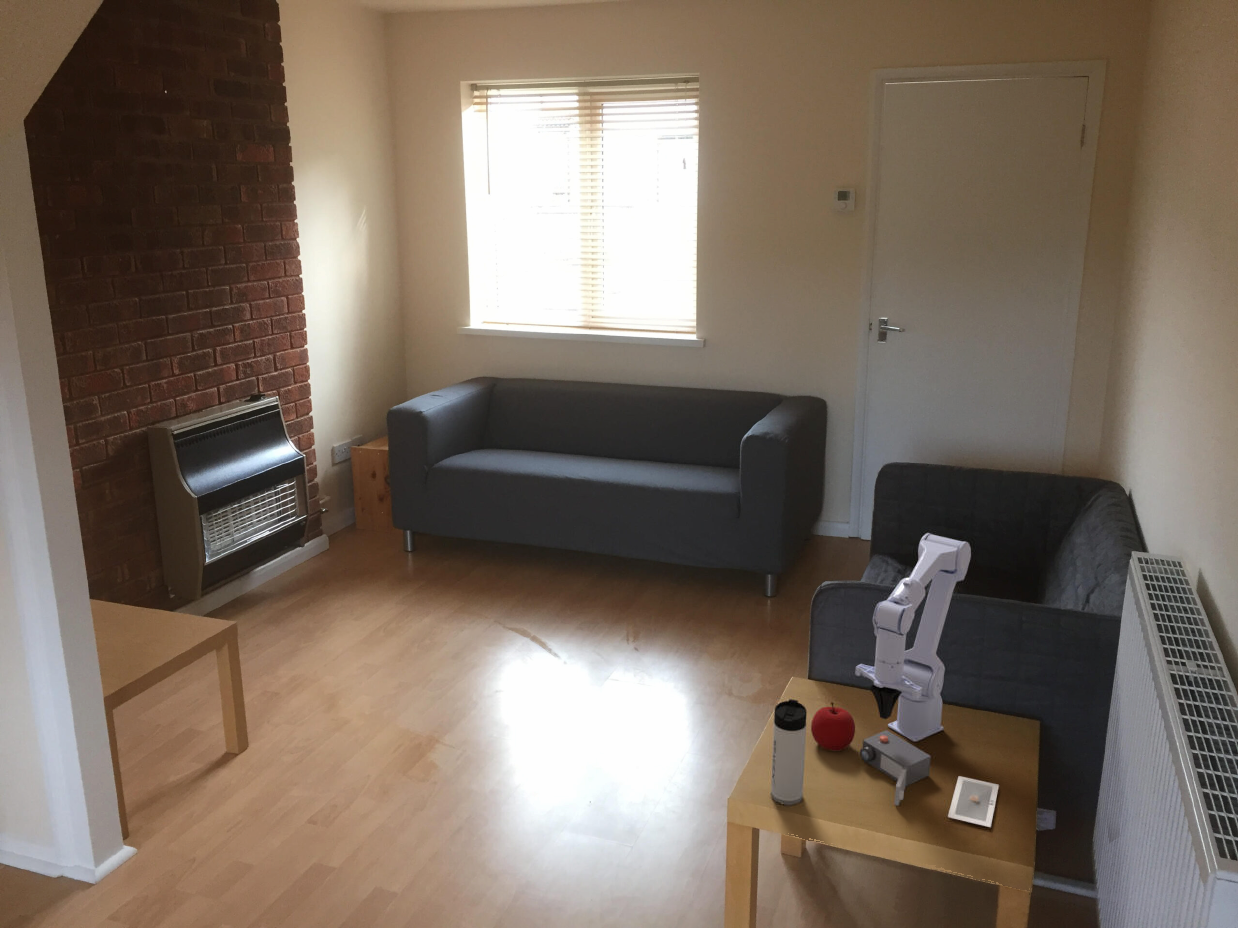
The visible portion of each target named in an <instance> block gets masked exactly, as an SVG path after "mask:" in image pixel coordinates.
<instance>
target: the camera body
mask: <svg viewBox="0 0 1238 928" xmlns="http://www.w3.org/2000/svg"><path fill="white" fill-rule="evenodd" d="M859 755H860V758H861V760H862V761H863V762H865V763H867V764H869V765H871V766H872V767H873V768H875V769H877V770H878V771H880V772H881V773H883V774H885V775H886V776H888V777H889V778H891V779H893V780H894V781H895V782H896V783H897V782H898V779H899V776H900V774H901V771H902V767H904V766H905V767H907V780H906V787H908V786H910V785H912V784H914V783H916V782H918V781H921V780H922V779H925V778H927V777H929V776H930V765H931V758H932V756H931V755H930V754H929V753H926V752H924V751H923V750H921V749H919V748H918V747H916V746H914V745H913V744H911V743H909V742H907V741H906V740H904V739H902V738H900V736H897V735H896V734H894V733H892V732H891V731H889V730H885V729H884V730H883V731H881V732H879V733H876V734H874V735H872V736H870V737H867V738H865V739H864V738H863V740H862V748H860V750H859Z"/></svg>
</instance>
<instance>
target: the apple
mask: <svg viewBox="0 0 1238 928" xmlns="http://www.w3.org/2000/svg"><path fill="white" fill-rule="evenodd" d="M830 704H831V706H825V707H824V706H823V707H821V708H819V709H818V710H817V711H816V712H815V713H814V716H813V717H812V720H811V724H810V725H811V727H810V730H811V735H812V736H813V739H814V741H815V742H816V743H817V744H818V745H819V746H820V747H822V749H824V750H828V751H832V752H833V751H834V752H838V751H842V750H845V749H846V748H848V747H849V746H850V744H851V743H852V742H853V740H854V738H855V734H856V723H855V720H854V717H853V716H852V715H851V713H849V711H848V710H846V709H844V708H841V707H838V706H837V707H836V706H834V702H830Z"/></svg>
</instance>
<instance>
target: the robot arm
mask: <svg viewBox="0 0 1238 928" xmlns="http://www.w3.org/2000/svg"><path fill="white" fill-rule="evenodd" d="M917 548H918V550H917V553H918V557H917V558H918V560H917V563H916V565H915V566H914V568H913V570H912V572H911V573H910V575H909V577H904V578H902V579H901V580H899V582H898V584H897V585H896V587H895V588H894V590H892V592H891V594H890V595H889V596H888V598H887V599H886V600H883V601H879V602H878V603H877V604H876V606H875V608H874V611H873V617H872V624H873V628H874V632H873V633H874V635H875V637H876V641H875V655H874V656H875V659H874V666H871V665H866V664H863V663H860V664H858V665H856V666H855V672H854V673H855V674H854V675H856V676H858V677H861V676H862V677H864V678H867V679H870V680H871V681H872V682H873V684H872V685H871V686H870V691H871V693H872V694H873V696H874V700H875V701H876V705H877V707H878V712H879V713H878V714H879V718H881V719H884V720H887V719H889V718H890V717H891V716H892V713H893V709H894V707H895V705H896V703H897V702H898V703H897V704H898V705H897V714H896V715H897V718H896V720H895V721H892V722H889V723H888V724H887V726H888V728H890V729H891V730H893V731H895V732H897V733H898V734H900V735H901V736H903V737H904V738H905V737H906V739H908V740H910V741H912V742H914V743H915V742H918V741H922V740H923V739H925V738H927V737H930V736H932V735H934V734H937V733H938V732H941V731H943V730H944V727H943V726H942V725H941V723H942V711H943V699H942V696H941V692H942V690H943V685H944V680H945V679H944V675H945V672H946V668H945V665H944V663H943V662H942V660H941V659H940V658H939V656H938V655H937V649H938V648H939V647H938V646H939V643H940V639H941V636H942V631H943V629H944V625H945V621H946V617H947V614H948V611H949V607H950V603H951V600H952V596H953V593H954V590H955V587H956V585H957V582H961V581H964V580H965V577H966V575H967V573H968V569H969V564H970V562H971V557H972V552H971V551H972V548H971V545H970V543H969V542H968V541H962V540H957V539H953V538H949V537H945V536H939V535H936V534H932V533H930V532H927V533H925V534H924V535H923V536H922V537H921V538H920V541H919V544H918V547H917ZM930 582H931V583H930ZM929 583H930V587H929V590H928V594H927V597H926V589H925V587H927V585H928V584H929ZM925 597H926V601H925V605H924V608H923V612H922V615H921V619H920V623H919V626H918V629H917V633H916V637H915V640H914V642H913V643H914V644H913V647H912V648H909V649H907V650H906V640H907V633H908V632H909V631H910V629H911V626H912V623H913V621H914V618H915V614H916V613H915V612H916V610H917V608H918V607H919V605H920V604H921V602H922V601H923V600H924V598H925ZM914 662H917V663H919V664H917V663H914ZM920 664H921V665H920ZM922 664H923V665H925V666H923V665H922ZM927 666H928V667H927ZM930 667H931V668H930Z"/></svg>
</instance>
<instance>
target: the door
mask: <svg viewBox="0 0 1238 928" xmlns="http://www.w3.org/2000/svg"><path fill="white" fill-rule="evenodd" d="M906 780H907V767H905V766H904V767H902V771H901V774H900V776H899V779H898V782H897V781H896V785H895V793H894V803H893V804H894V805H895V806H899V805H900V802H901V801H903V800H904V797H905V796H904V795H905V794H904V793H905V790H906V789H907V786H906Z"/></svg>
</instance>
